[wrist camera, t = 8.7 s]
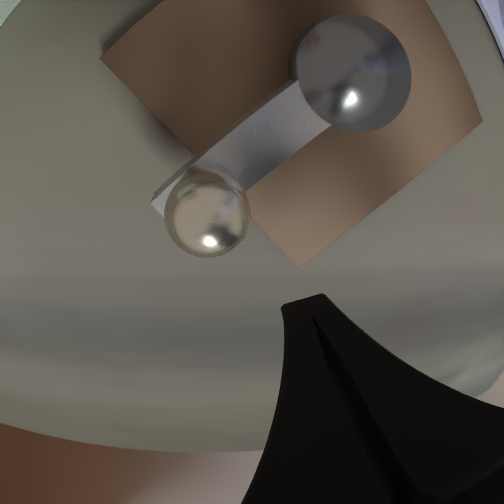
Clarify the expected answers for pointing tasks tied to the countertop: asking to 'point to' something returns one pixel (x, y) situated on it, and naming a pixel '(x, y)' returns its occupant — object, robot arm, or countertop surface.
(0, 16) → the tray
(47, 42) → the countertop surface
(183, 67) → the crank base
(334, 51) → the crank
